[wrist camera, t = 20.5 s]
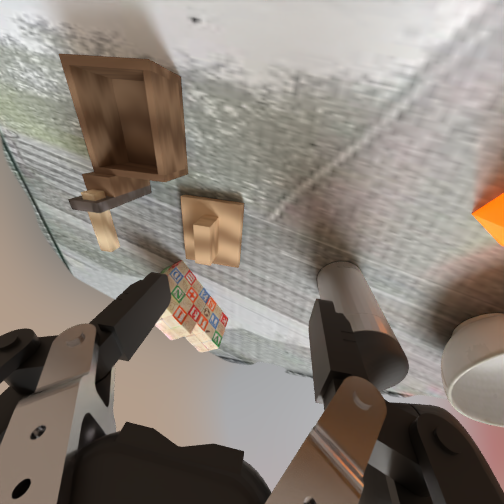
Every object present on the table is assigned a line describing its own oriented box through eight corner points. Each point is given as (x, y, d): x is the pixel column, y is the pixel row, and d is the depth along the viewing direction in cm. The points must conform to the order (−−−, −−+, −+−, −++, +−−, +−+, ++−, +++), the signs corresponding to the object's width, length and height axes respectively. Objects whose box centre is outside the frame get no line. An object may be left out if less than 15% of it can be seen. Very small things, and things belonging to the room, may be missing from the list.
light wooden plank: (120, 246, 36) (111, 252, 34) (110, 244, 36) (101, 250, 35) (103, 190, 31) (92, 194, 29) (92, 189, 31) (80, 192, 30)
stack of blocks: (229, 318, 56) (215, 360, 45) (211, 323, 58) (194, 365, 48) (181, 259, 48) (151, 293, 38) (164, 267, 50) (130, 302, 40)
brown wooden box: (189, 197, 40) (151, 221, 29) (130, 189, 41) (72, 209, 30) (180, 76, 30) (118, 42, 19) (104, 71, 32) (4, 36, 21)
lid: (240, 261, 46) (232, 281, 39) (190, 253, 47) (175, 271, 40) (245, 201, 39) (236, 214, 32) (186, 193, 40) (166, 203, 33)
